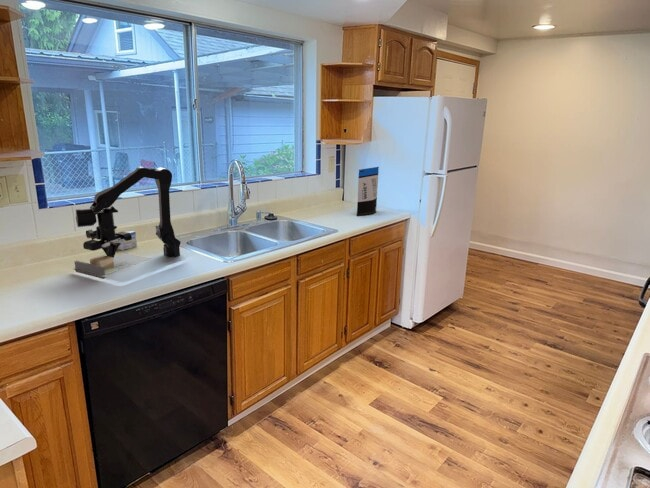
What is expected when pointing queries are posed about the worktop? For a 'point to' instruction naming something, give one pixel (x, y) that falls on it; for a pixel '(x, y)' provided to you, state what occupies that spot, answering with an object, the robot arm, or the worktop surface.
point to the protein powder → (367, 191)
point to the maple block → (103, 261)
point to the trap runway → (118, 261)
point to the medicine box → (128, 242)
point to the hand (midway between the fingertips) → (111, 260)
